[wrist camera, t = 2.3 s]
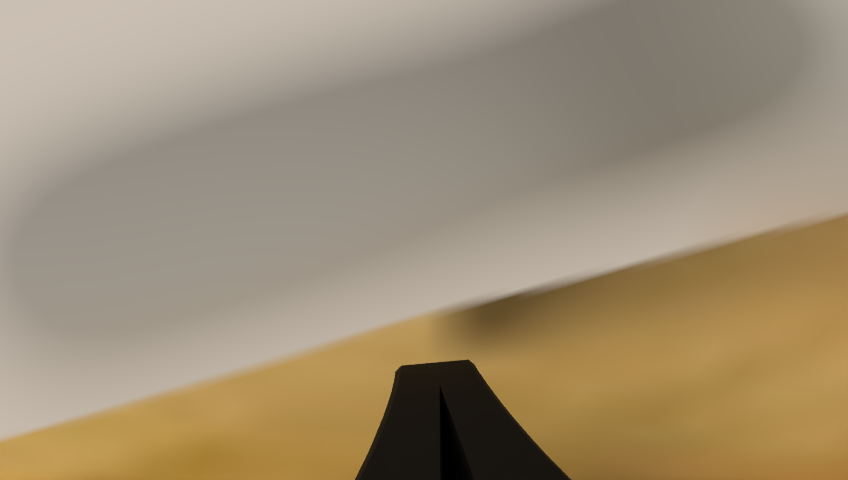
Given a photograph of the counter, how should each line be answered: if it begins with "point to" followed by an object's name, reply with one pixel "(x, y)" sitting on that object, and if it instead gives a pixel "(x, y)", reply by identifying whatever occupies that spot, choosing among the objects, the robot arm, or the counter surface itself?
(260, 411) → the counter surface
